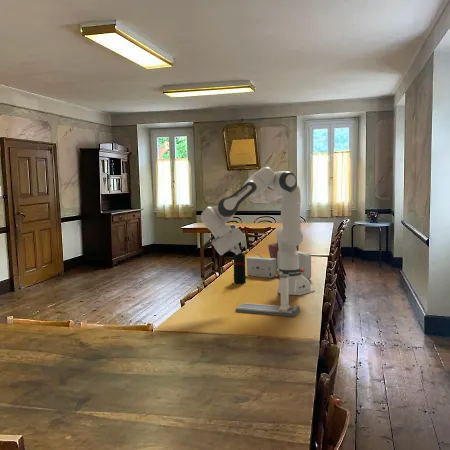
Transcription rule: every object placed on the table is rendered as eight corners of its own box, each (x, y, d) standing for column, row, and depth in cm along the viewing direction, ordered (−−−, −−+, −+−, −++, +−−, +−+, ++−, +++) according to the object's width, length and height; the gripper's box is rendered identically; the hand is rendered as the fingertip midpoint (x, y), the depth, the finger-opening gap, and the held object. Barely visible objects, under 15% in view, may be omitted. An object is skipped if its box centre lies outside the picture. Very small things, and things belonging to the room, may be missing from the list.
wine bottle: (248, 281, 303) (247, 236, 300) (243, 284, 293) (243, 238, 291) (237, 280, 305) (236, 236, 303) (232, 283, 296) (231, 238, 293)
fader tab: (278, 310, 223) (278, 275, 222) (282, 306, 230) (282, 273, 228) (286, 311, 222) (286, 276, 220) (290, 307, 228) (290, 273, 227)
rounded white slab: (313, 279, 305) (313, 252, 303) (305, 281, 301) (305, 254, 299) (285, 273, 329) (285, 248, 327) (277, 274, 324) (277, 249, 323)
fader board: (235, 311, 229) (235, 306, 229) (243, 305, 240) (243, 300, 240) (294, 316, 218) (293, 311, 218) (299, 310, 229) (299, 305, 229)
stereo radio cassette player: (277, 276, 317) (276, 248, 315) (271, 278, 310) (271, 249, 308) (251, 274, 328) (250, 246, 326) (245, 276, 321) (244, 248, 319)
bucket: (300, 271, 334) (300, 237, 332) (270, 272, 334) (269, 238, 332) (295, 265, 358) (295, 234, 356) (267, 266, 359) (267, 234, 357)
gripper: (213, 238, 233) (230, 259, 231) (236, 223, 247) (253, 242, 245) (207, 244, 237) (224, 264, 235) (231, 229, 251) (247, 248, 249)
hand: (239, 253), depth 240 cm, fingers closed
